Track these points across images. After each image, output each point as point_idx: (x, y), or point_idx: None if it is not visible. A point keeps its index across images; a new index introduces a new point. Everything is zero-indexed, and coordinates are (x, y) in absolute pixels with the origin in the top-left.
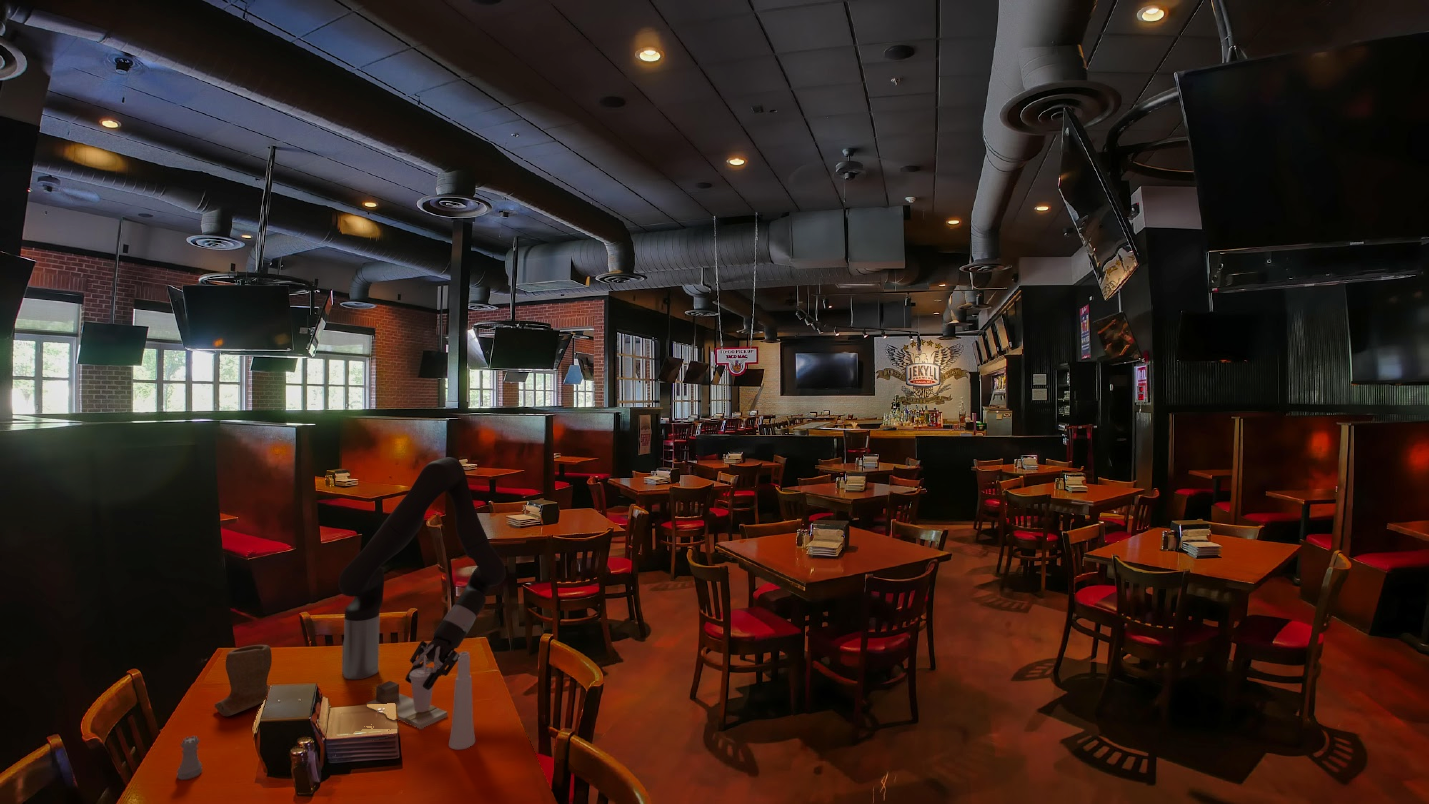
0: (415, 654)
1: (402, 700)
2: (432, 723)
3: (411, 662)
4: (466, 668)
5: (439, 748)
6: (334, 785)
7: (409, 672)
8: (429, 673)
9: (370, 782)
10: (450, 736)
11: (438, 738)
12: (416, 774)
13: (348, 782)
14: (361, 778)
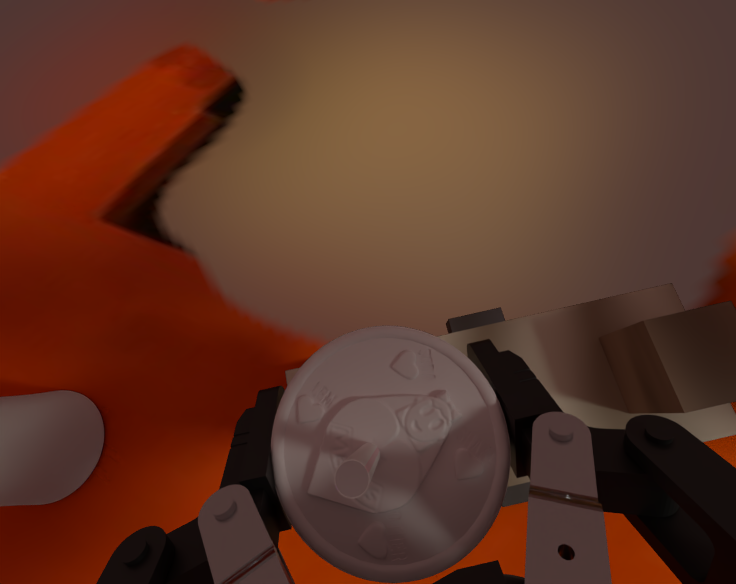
0: (721, 498)
1: (595, 418)
2: None
3: (637, 428)
4: None
5: (100, 360)
6: (179, 69)
7: (511, 371)
8: (310, 475)
9: (112, 132)
10: (48, 398)
11: (168, 393)
12: (31, 235)
13: (162, 95)
14: (152, 122)
